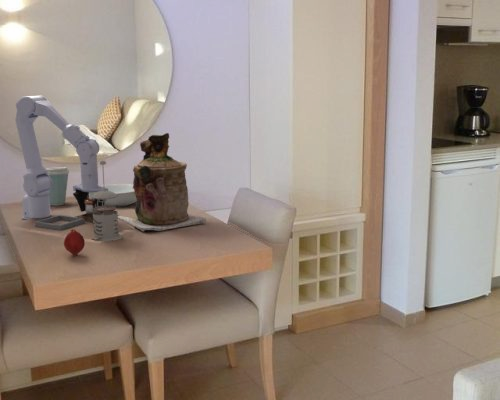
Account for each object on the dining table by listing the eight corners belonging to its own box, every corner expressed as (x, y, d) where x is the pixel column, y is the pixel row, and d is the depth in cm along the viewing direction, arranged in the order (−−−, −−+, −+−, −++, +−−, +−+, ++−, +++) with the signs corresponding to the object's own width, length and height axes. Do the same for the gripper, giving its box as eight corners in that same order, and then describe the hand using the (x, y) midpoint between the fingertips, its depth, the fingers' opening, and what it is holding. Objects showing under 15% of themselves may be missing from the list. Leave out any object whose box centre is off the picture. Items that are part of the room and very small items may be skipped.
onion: (67, 252, 181) (65, 226, 179) (86, 252, 181) (85, 225, 180) (62, 258, 175) (61, 231, 173) (83, 257, 175) (81, 230, 174)
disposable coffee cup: (37, 204, 245) (35, 167, 242) (59, 200, 254) (57, 164, 251) (54, 208, 239) (52, 170, 236) (76, 203, 248) (74, 166, 245)
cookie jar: (176, 211, 234) (173, 127, 228) (209, 224, 214) (208, 133, 208) (115, 220, 220) (111, 131, 214) (145, 235, 200) (141, 137, 194)
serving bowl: (117, 197, 259) (117, 181, 258) (153, 203, 247) (152, 187, 246) (78, 206, 243) (77, 189, 241) (114, 213, 231) (113, 195, 230)
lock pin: (82, 219, 217) (81, 200, 215) (91, 216, 221) (90, 197, 219) (92, 220, 215) (91, 201, 213) (101, 218, 219) (100, 199, 217)
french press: (94, 242, 191) (90, 163, 186) (86, 234, 201) (82, 158, 196) (125, 239, 195) (122, 161, 190) (115, 230, 205) (112, 157, 200)
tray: (35, 228, 208) (34, 221, 207) (60, 221, 218) (60, 214, 217) (60, 233, 202) (59, 225, 202) (85, 225, 212) (84, 218, 212)
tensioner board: (67, 221, 218) (67, 210, 218) (93, 213, 230) (92, 203, 229) (95, 225, 212) (94, 214, 211) (120, 217, 224) (119, 207, 223)
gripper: (113, 174, 214) (114, 212, 217) (82, 171, 221) (84, 207, 224) (99, 177, 208) (101, 216, 211) (67, 174, 215) (70, 211, 218)
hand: (91, 212), depth 217 cm, fingers open, 7 cm apart
